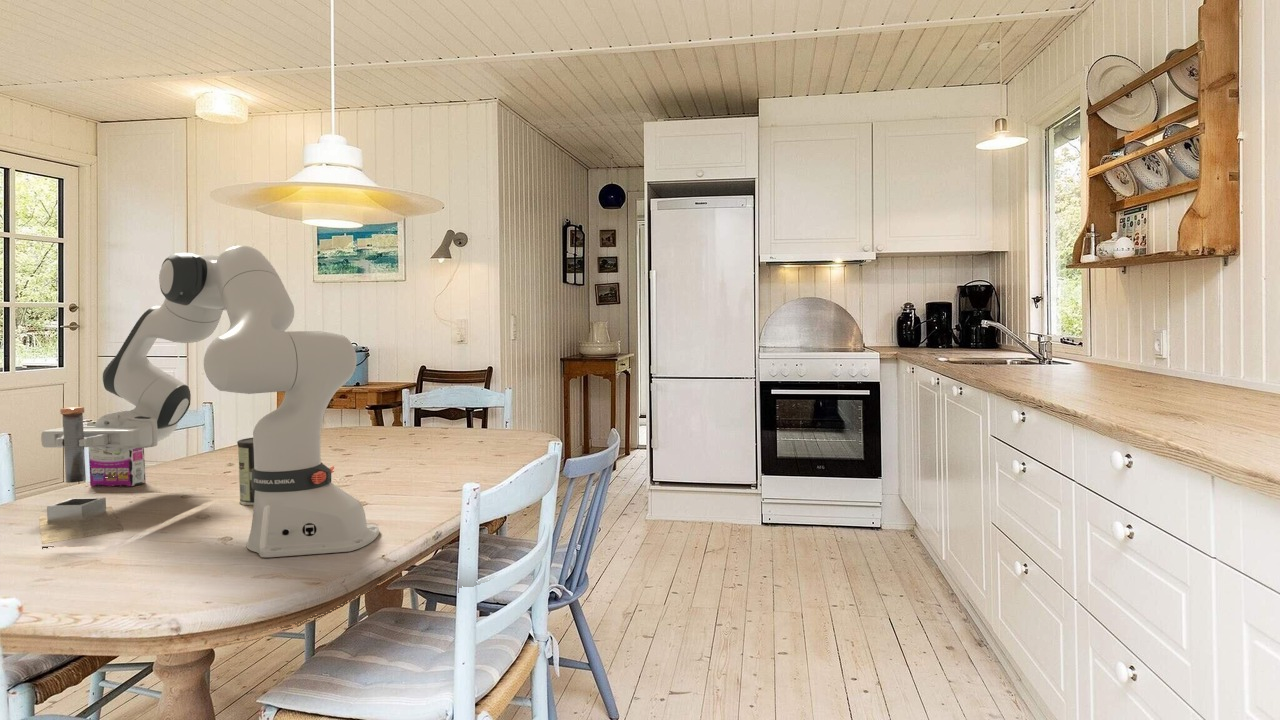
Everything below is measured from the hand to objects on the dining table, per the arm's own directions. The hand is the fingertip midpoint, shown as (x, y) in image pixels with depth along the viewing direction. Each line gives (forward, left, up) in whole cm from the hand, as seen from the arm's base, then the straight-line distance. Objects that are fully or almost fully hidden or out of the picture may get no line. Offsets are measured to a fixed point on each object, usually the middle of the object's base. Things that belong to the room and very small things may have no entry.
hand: (70, 443), depth 145 cm
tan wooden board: (-4, +5, -16) cm, 18 cm away
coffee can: (-30, -16, -17) cm, 38 cm away
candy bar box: (+15, -34, -17) cm, 41 cm away
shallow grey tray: (0, -1, -15) cm, 15 cm away
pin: (0, -1, -8) cm, 8 cm away
